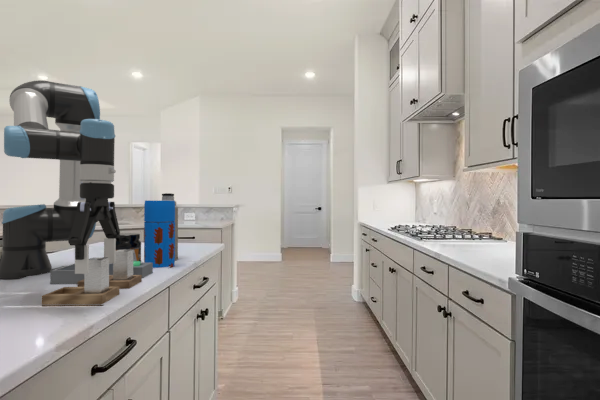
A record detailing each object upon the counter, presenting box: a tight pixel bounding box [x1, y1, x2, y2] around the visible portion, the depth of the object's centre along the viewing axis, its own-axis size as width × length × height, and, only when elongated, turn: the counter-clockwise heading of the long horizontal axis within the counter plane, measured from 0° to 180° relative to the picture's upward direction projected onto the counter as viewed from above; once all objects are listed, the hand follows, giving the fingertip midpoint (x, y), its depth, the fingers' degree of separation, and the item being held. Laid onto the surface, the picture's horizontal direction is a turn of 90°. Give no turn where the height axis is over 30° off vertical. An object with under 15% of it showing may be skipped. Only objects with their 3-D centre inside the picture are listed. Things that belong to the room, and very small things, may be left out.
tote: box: [49, 262, 113, 285], centre depth 118 cm, size 12×22×4 cm, turn 2°
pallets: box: [41, 275, 143, 307], centre depth 99 cm, size 14×24×2 cm, turn 2°
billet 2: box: [113, 249, 133, 280], centre depth 107 cm, size 4×4×10 cm
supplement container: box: [115, 232, 142, 263], centre depth 142 cm, size 10×10×12 cm
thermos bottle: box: [160, 192, 179, 261], centre depth 155 cm, size 8×8×28 cm
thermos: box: [143, 200, 176, 269], centre depth 139 cm, size 11×11×25 cm
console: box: [133, 262, 154, 279], centre depth 120 cm, size 9×9×4 cm
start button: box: [133, 261, 140, 266], centre depth 120 cm, size 4×4×3 cm
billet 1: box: [84, 256, 109, 294], centre depth 92 cm, size 4×4×10 cm
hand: (96, 267), depth 92 cm, fingers open, 13 cm apart
